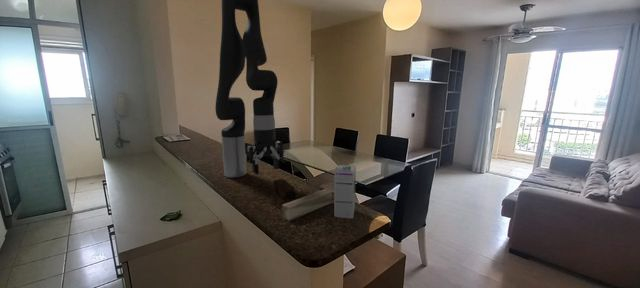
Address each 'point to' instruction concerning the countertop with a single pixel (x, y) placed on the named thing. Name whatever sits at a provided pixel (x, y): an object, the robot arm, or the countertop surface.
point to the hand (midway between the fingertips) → (266, 171)
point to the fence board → (306, 204)
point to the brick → (284, 190)
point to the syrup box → (344, 191)
